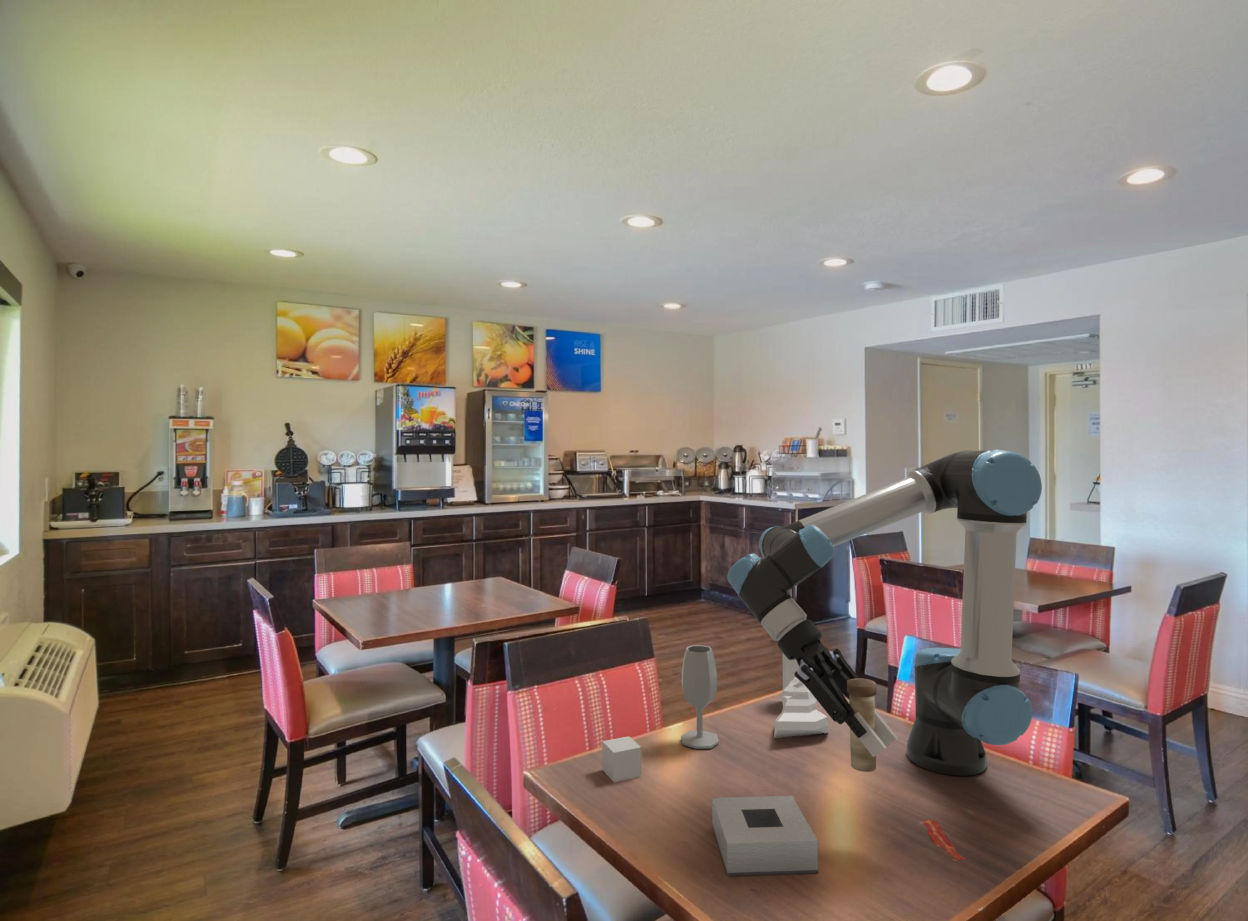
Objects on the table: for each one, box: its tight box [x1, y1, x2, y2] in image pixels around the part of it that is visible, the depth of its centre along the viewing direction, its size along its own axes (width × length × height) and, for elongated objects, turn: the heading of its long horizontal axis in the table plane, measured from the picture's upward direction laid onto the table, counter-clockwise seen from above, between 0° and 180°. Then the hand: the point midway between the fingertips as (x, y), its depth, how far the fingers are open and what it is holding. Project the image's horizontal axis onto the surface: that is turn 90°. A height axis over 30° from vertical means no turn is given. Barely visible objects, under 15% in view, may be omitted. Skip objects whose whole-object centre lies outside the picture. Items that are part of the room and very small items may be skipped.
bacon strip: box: [921, 812, 967, 862], centre depth 116 cm, size 4×15×1 cm, turn 1°
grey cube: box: [601, 735, 642, 783], centre depth 139 cm, size 6×6×6 cm
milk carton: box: [782, 652, 799, 691], centre depth 175 cm, size 7×7×19 cm
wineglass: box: [680, 644, 720, 750], centre depth 154 cm, size 9×9×21 cm
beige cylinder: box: [847, 677, 877, 773], centre depth 115 cm, size 5×5×14 cm
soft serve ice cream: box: [773, 677, 829, 739], centre depth 159 cm, size 12×15×14 cm
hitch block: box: [711, 795, 819, 877], centre depth 112 cm, size 14×14×5 cm
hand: (885, 747), depth 112 cm, fingers closed on beige cylinder, 4 cm apart
